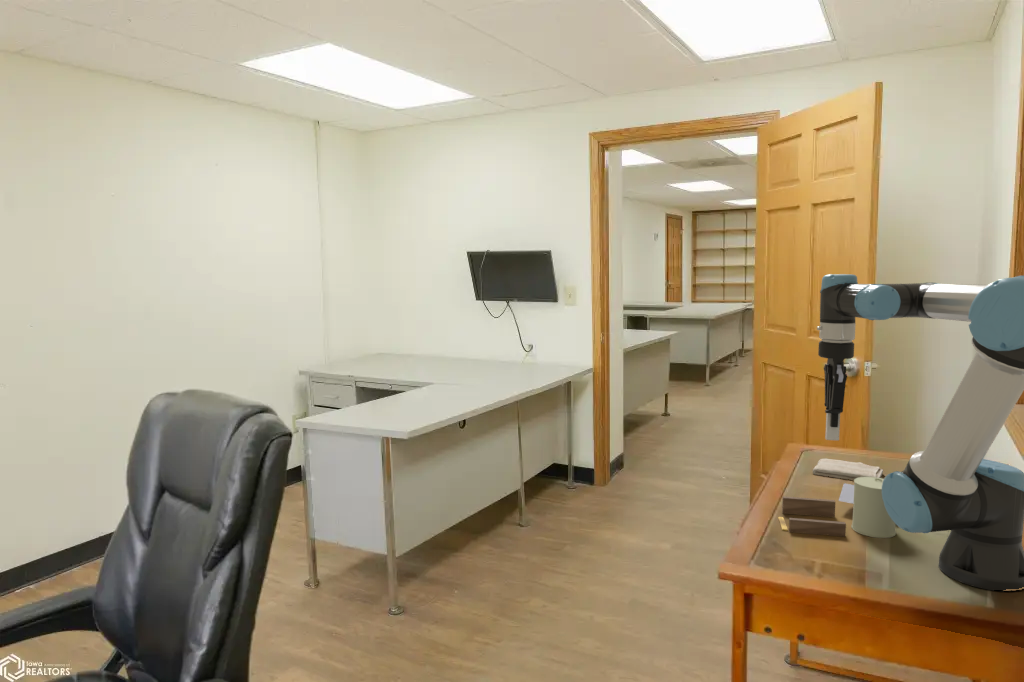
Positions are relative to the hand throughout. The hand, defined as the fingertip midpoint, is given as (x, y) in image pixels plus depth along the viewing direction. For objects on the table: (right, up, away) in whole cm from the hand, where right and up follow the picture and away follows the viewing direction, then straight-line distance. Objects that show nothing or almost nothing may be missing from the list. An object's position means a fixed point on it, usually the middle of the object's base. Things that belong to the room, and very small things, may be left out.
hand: (832, 439), depth 162 cm
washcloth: (+23, -17, +40) cm, 50 cm away
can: (+9, -21, -2) cm, 23 cm away
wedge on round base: (+14, -20, +8) cm, 26 cm away
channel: (-4, -21, +3) cm, 21 cm away
